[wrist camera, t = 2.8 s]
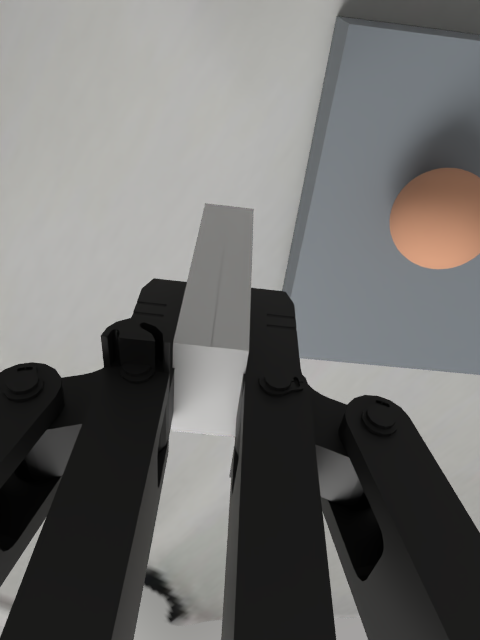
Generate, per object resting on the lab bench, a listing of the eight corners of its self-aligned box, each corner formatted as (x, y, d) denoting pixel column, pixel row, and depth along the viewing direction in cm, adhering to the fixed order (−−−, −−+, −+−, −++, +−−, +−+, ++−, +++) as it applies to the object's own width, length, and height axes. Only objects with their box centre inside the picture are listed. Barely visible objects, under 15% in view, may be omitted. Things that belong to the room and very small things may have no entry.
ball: (369, 235, 21) (389, 283, 18) (396, 148, 19) (425, 185, 16) (453, 244, 21) (487, 293, 18) (490, 159, 19) (537, 198, 16)
